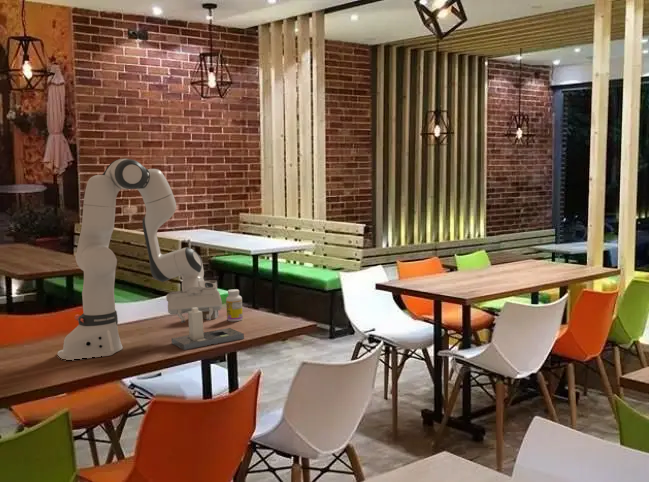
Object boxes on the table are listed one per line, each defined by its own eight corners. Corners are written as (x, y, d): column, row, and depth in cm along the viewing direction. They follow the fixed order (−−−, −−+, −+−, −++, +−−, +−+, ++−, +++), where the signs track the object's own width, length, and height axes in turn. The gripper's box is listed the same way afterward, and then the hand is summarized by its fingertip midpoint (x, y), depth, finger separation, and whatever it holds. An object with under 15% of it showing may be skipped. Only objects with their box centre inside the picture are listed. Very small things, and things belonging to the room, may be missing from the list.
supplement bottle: (225, 319, 301) (224, 289, 300) (241, 317, 303) (239, 288, 302) (228, 322, 295) (226, 292, 294) (244, 320, 297) (242, 290, 295)
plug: (194, 345, 260) (191, 309, 259) (189, 343, 264) (187, 307, 262) (204, 343, 263) (202, 308, 261) (199, 341, 266) (197, 306, 264)
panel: (184, 350, 254) (183, 343, 254) (171, 343, 264) (171, 337, 264) (243, 338, 267) (243, 332, 267) (230, 332, 277) (229, 327, 277)
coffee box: (194, 319, 303) (192, 282, 302) (198, 316, 310) (196, 280, 308) (215, 319, 303) (213, 282, 301) (219, 315, 309) (217, 279, 307)
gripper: (165, 287, 268) (167, 318, 259) (220, 283, 272) (223, 313, 263) (166, 297, 273) (168, 327, 264) (220, 292, 277) (223, 322, 268)
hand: (196, 320), depth 264 cm, fingers open, 8 cm apart
